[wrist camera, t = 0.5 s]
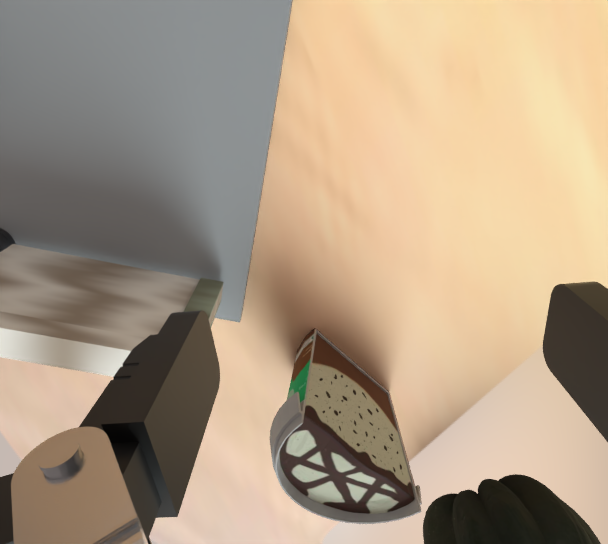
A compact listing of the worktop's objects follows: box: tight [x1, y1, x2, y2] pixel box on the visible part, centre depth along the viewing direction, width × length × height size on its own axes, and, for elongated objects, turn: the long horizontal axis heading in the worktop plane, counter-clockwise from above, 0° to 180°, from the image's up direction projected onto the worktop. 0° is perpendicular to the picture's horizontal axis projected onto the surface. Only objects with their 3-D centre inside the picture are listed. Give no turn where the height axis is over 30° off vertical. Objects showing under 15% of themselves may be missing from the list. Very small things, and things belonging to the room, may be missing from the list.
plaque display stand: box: [0, 0, 293, 322], centre depth 21 cm, size 22×21×11 cm
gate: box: [0, 244, 224, 377], centre depth 25 cm, size 14×2×9 cm, turn 78°
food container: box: [270, 329, 421, 524], centre depth 31 cm, size 12×6×10 cm, turn 44°
